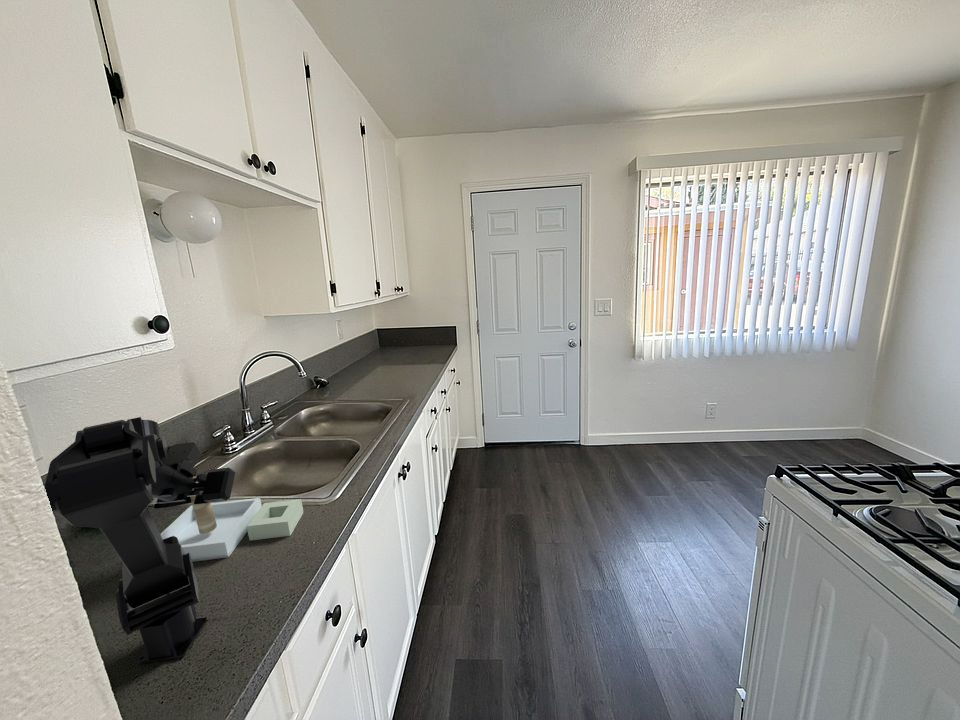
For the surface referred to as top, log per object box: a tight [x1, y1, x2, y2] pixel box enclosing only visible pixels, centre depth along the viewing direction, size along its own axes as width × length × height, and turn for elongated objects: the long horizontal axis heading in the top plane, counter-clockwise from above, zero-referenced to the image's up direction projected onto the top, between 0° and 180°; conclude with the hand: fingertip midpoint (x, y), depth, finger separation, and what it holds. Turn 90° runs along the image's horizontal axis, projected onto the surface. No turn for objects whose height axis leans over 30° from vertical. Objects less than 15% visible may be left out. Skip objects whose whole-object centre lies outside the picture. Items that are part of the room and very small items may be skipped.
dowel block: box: [247, 498, 304, 541], centre depth 86 cm, size 8×8×4 cm
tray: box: [160, 497, 263, 563], centre depth 83 cm, size 16×16×4 cm
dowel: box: [190, 475, 217, 534], centre depth 82 cm, size 3×3×12 cm
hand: (205, 498), depth 83 cm, fingers closed on dowel, 3 cm apart
